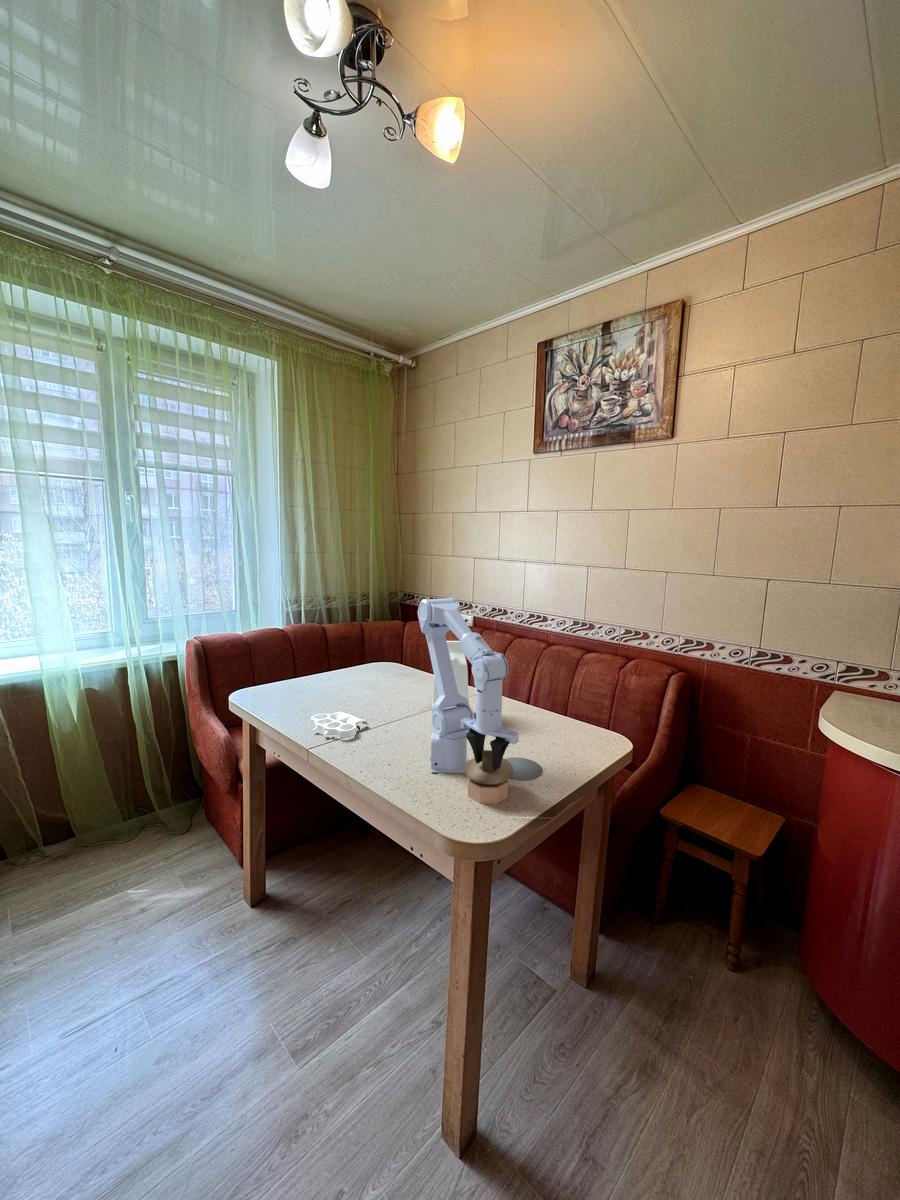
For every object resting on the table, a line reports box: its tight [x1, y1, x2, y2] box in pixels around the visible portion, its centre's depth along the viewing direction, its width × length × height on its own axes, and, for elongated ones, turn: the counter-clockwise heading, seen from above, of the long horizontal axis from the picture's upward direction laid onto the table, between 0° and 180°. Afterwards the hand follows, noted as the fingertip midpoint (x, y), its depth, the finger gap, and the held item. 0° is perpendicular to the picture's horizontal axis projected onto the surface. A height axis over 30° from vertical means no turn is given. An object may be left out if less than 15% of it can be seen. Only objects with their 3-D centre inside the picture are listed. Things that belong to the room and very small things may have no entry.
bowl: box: [466, 777, 509, 805], centre depth 104 cm, size 9×9×4 cm
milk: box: [431, 640, 470, 710], centre depth 148 cm, size 12×12×26 cm
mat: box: [505, 756, 544, 782], centre depth 115 cm, size 12×12×1 cm
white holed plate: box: [310, 711, 369, 738], centre depth 139 cm, size 3×18×15 cm
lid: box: [464, 749, 513, 785], centre depth 103 cm, size 11×11×4 cm
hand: (487, 764), depth 103 cm, fingers closed on lid, 4 cm apart
